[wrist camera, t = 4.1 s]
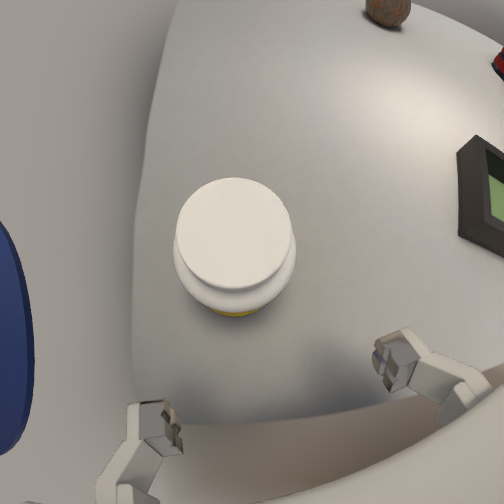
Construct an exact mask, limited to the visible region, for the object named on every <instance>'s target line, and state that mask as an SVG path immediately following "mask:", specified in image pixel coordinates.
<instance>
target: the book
mask: <svg viewBox="0 0 504 504" xmlns="http://www.w3.org/2000/svg"><path fill="white" fill-rule="evenodd" d="M492 66H493V69H494V70H495V72H496V73H497V74H498V75H499V76H500V77H501V78H502V79H503V81H504V47H503V48H502V51H501V52H500V53H499V54H498V55H497V56H496V58H495V59H494V62H493V63H492Z"/></svg>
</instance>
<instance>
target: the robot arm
mask: <svg viewBox="0 0 504 504" xmlns="http://www.w3.org/2000/svg"><path fill="white" fill-rule="evenodd" d="M374 346H375V348H376V349H375V351H374V352H373V354H372V362H373V366H374V368H375V370H376V372H377V373H378V374H380V375H382V376H383V383H384V385H385V386H386V388H387V390H388V391H389V393H392V392H395V391H397V390H399V389H401V388H404V387H406V386H407V387H408V388H410V389H412V390H414V391H415V392H417V393H419V394H421V395H422V396H424V397H426V398H428V399H429V400H431V401H433V402H435V403H436V404H438V405H440V406H441V408H440V409H439V411H438V412H437V414H436V415H435V419H436V421H437V422H438V424H439V426H440V427H441V429H439V430H438V431H436V432H434V433H433V434H431V435H429V436H428V437H426V438H424V439H422V440H421V441H419V442H417V443H415V444H413V445H412V446H410V447H408V448H406V449H404V450H402V451H400V452H398V453H396V454H395V455H392V456H390V457H388V458H386V459H384V460H382V461H380V462H378V463H375V464H373V465H371V466H369V467H366V468H364V469H362V470H359V471H357V472H355V473H352V474H350V475H347V476H344V477H342V478H339V479H337V480H334V481H331V482H328V483H325V484H322V485H319V486H316V487H313V488H310V489H307V490H303V491H300V492H297V493H293V494H289V495H286V496H282V497H278V498H274V499H270V500H266V501H261V502H257V503H252V504H504V383H503V384H502V385H501V386H500V387H498V388H497V389H496V390H494V389H493V388H492V386H491V385H490V384H489V383H488V381H487V380H486V379H485V377H484V376H483V375H482V373H481V372H480V371H479V370H478V369H476V368H474V367H471V366H469V365H466V364H463V363H461V362H458V361H456V360H453V359H451V358H449V357H446V356H444V355H441V354H439V353H436V352H432V353H431V352H430V351H429V349H428V348H427V347H426V346H425V344H424V343H423V342H422V341H421V339H420V338H419V337H418V336H417V334H416V333H415V332H414V331H413V330H412V328H411V327H409V326H408V327H405V328H403V329H401V330H398V331H395V332H393V333H391V334H388V335H386V336H384V337H381V338H379V339H377V340H376V341H375V344H374ZM180 430H181V427H180V421H179V417H178V414H177V412H176V411H175V409H174V408H171V407H170V402H169V401H168V400H167V399H159V400H152V401H145V402H136V403H129V404H128V407H127V425H126V441H122V443H121V445H120V446H119V448H118V449H117V450H116V452H115V454H114V455H113V457H112V458H111V460H110V461H109V463H108V464H107V466H106V467H105V469H104V470H103V472H102V473H101V475H100V476H99V478H98V480H97V481H96V483H95V504H160V501H159V500H158V499H157V498H155V497H153V496H150V495H149V494H147V492H148V490H149V488H150V486H151V483H152V482H153V479H154V477H155V475H156V473H157V471H158V469H159V467H160V465H161V462H162V460H163V457H166V456H174V455H180V454H183V446H182V439H181V438H180V437H179V436H178V433H179V432H180ZM23 504H40V503H35V502H31V501H27V502H24V503H23Z"/></svg>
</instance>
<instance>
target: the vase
mask: <svg viewBox="0 0 504 504" xmlns="http://www.w3.org/2000/svg"><path fill="white" fill-rule="evenodd" d="M366 10H367V12H368V14H369V16H370V17H371V18H372V19H373V20H374V21H375V22H377V23H379V24H381V25H383V26H387V27H394V26H398V25H400V24H402V23H403V22H404V21H405V20H406V19H407V17H408V15H409V13H410V10H411V1H410V0H366Z"/></svg>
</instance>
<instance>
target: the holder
mask: <svg viewBox="0 0 504 504" xmlns="http://www.w3.org/2000/svg"><path fill="white" fill-rule="evenodd" d="M457 164H458V184H459V232H458V235H459V236H461V237H463V238H465V239H468V240H470V241H472V242H474V243H476V244H478V245H480V246H482V247H484V248H486V249H488V250H490V251H492V252H494V253H496V254H498V255H500V256H502V257H504V153H503V152H502V151H500V150H499V149H497V148H496V147H494V146H493V145H491V144H490V143H488V142H487V141H485V140H484V139H482V138H481V137H479V136H478V135H475V136H474V137H473V138H472V139H470V140H469V141H468V142H467V143H466V144H465V145H464V146H463V147H462V148H461V149H460V150H459V151H458V152H457Z"/></svg>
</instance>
